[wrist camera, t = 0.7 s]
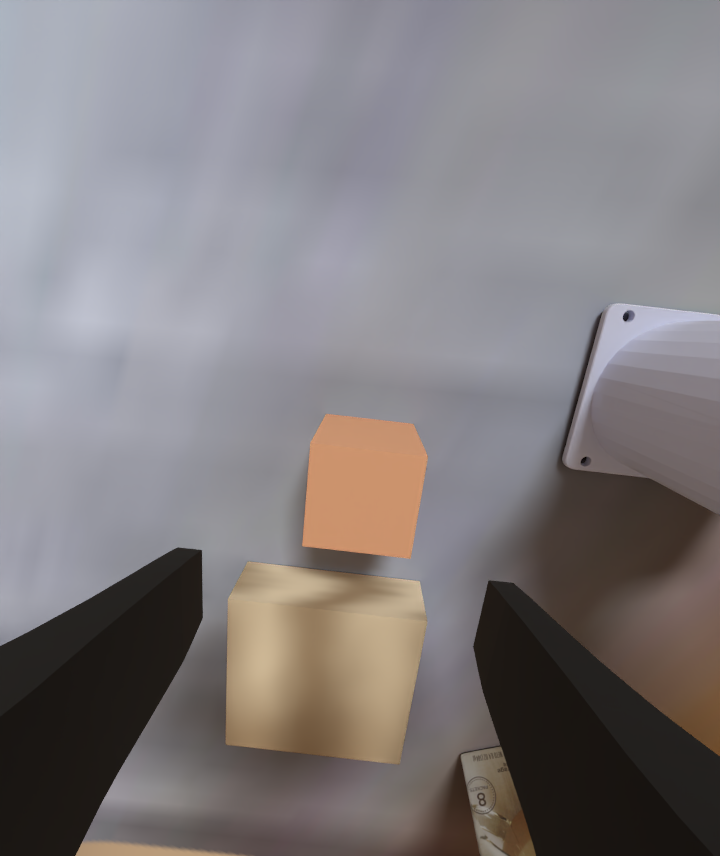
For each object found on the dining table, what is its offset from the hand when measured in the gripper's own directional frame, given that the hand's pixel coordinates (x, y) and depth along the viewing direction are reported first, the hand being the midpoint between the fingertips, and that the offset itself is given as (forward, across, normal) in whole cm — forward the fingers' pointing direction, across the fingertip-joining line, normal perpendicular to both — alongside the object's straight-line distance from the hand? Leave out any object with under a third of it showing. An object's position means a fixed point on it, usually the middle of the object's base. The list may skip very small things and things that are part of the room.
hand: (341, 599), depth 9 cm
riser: (+10, +1, +12) cm, 16 cm away
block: (+10, 0, 0) cm, 11 cm away
